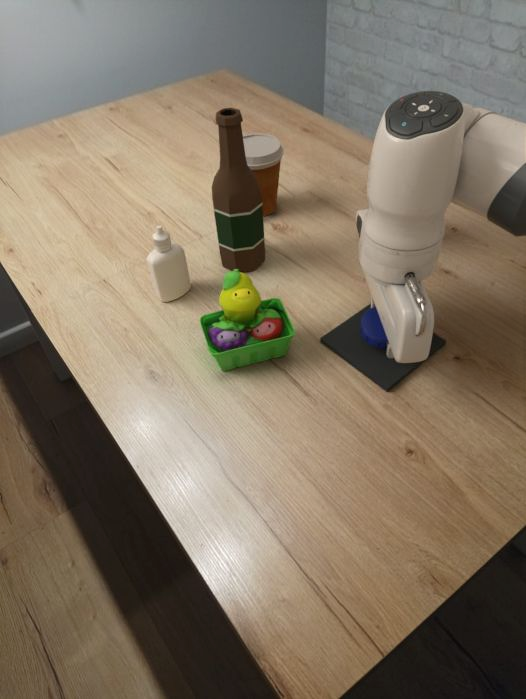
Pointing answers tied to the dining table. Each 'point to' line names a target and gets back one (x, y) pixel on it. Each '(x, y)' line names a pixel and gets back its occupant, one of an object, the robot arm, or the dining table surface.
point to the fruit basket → (246, 325)
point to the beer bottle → (237, 199)
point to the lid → (373, 329)
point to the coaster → (371, 353)
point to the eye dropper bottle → (168, 267)
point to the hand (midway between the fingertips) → (384, 333)
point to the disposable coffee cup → (264, 165)
